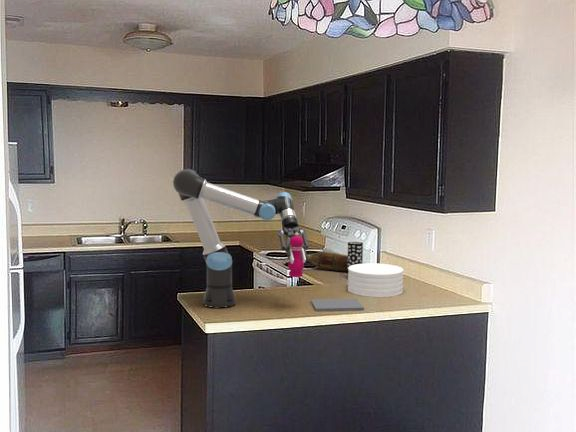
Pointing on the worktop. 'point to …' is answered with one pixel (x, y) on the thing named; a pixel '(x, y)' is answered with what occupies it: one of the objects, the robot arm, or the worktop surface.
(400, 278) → the plate stack
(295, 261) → the pepper mill
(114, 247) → the worktop surface
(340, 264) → the decorative bottle
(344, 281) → the worktop surface
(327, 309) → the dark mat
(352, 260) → the white-spotted black cylinder
